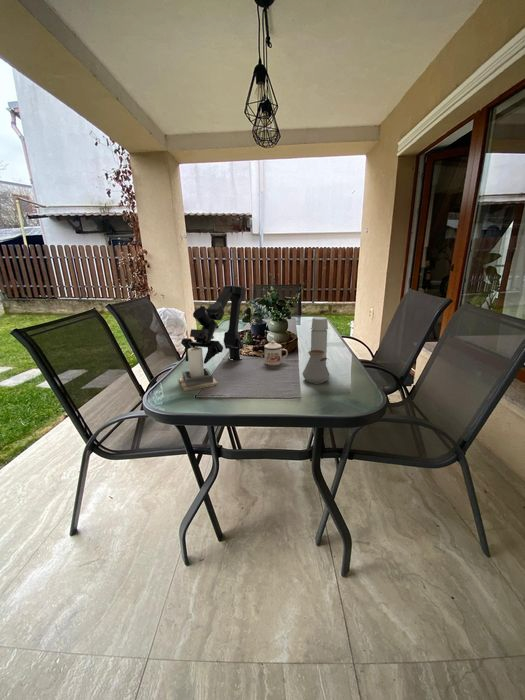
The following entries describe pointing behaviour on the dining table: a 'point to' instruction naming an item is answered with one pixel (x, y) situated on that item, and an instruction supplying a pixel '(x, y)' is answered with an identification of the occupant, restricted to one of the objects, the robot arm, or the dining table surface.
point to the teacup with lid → (273, 353)
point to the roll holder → (197, 381)
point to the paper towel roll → (195, 362)
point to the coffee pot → (316, 368)
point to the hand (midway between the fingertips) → (195, 362)
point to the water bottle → (319, 334)
